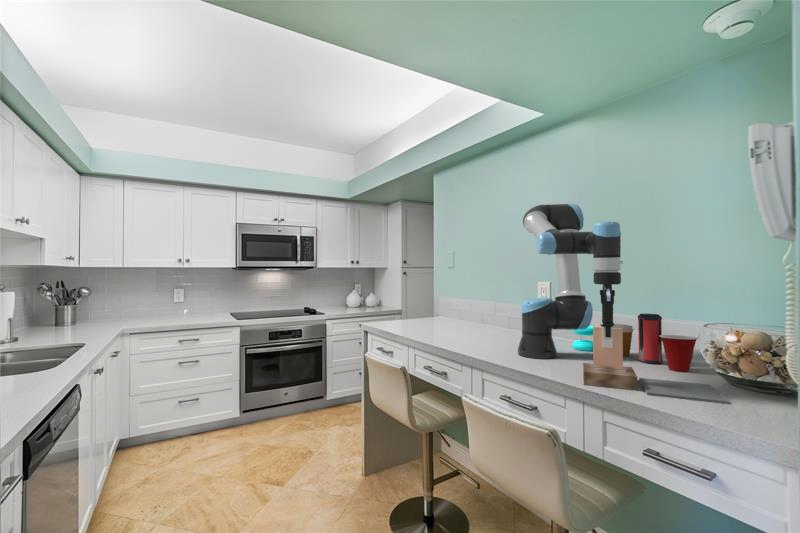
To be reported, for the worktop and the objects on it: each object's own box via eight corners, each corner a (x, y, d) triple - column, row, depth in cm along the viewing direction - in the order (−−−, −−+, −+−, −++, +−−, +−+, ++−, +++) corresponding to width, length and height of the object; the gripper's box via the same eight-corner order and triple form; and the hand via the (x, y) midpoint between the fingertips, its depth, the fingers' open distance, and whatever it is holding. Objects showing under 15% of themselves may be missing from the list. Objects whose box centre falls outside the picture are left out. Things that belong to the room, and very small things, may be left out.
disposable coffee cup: (626, 352, 159) (626, 324, 159) (638, 357, 150) (638, 327, 150) (603, 352, 160) (602, 323, 160) (613, 357, 150) (613, 327, 151)
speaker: (633, 359, 146) (632, 313, 146) (652, 359, 147) (651, 312, 147) (647, 364, 139) (647, 315, 139) (667, 364, 139) (667, 315, 139)
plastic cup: (689, 366, 135) (688, 333, 135) (704, 375, 125) (704, 338, 125) (654, 365, 138) (654, 332, 138) (666, 372, 128) (666, 337, 128)
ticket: (593, 365, 119) (593, 327, 119) (593, 364, 121) (593, 326, 121) (622, 367, 116) (622, 328, 116) (622, 366, 117) (622, 328, 117)
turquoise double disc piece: (590, 324, 172) (601, 328, 162) (590, 346, 172) (602, 351, 162) (568, 324, 172) (578, 328, 162) (568, 346, 172) (578, 351, 162)
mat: (647, 394, 106) (647, 392, 106) (639, 379, 120) (639, 377, 120) (729, 404, 98) (729, 401, 98) (709, 386, 113) (709, 384, 113)
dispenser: (583, 384, 116) (583, 370, 116) (583, 374, 126) (583, 361, 126) (637, 390, 110) (637, 375, 110) (632, 379, 120) (631, 366, 120)
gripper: (623, 271, 110) (624, 352, 110) (618, 271, 123) (619, 343, 123) (594, 272, 113) (595, 350, 113) (592, 271, 126) (593, 341, 126)
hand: (607, 346), depth 118 cm, fingers closed on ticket
